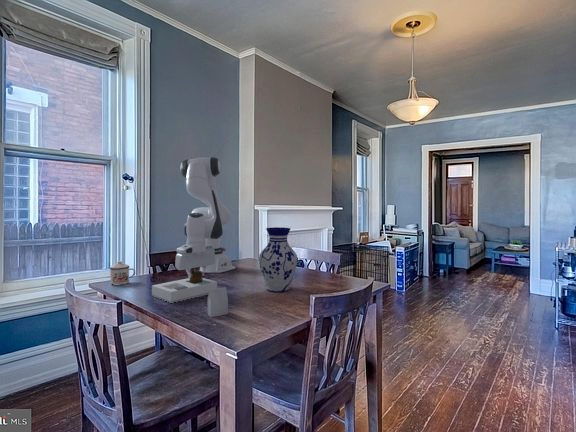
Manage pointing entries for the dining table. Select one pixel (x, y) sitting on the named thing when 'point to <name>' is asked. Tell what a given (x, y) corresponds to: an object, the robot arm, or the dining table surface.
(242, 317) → the dining table surface
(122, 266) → the teacup with lid
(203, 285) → the socket box
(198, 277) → the utensil holder
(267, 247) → the vase
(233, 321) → the dining table surface
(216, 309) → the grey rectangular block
